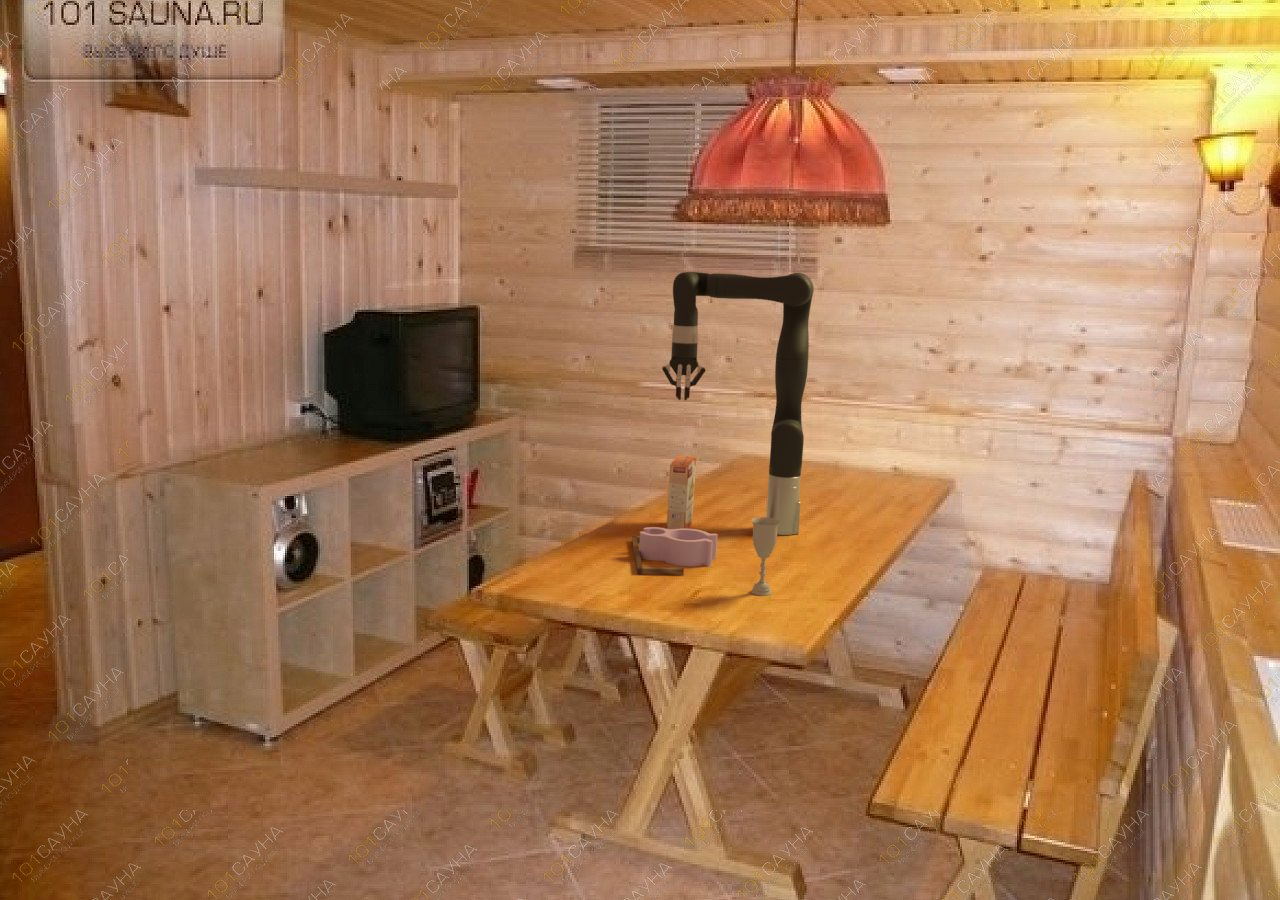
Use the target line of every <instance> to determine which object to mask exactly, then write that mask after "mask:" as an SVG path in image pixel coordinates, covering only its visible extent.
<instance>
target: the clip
mask: <svg viewBox="0 0 1280 900" xmlns="http://www.w3.org/2000/svg"><path fill="white" fill-rule="evenodd" d="M639 536H640V543H639V552H640V557H641V559H644V560H648V561H661V562H665V563H668V564H670V565H673V566H678V567H702V566H706V567H711V566H712V563H713V562H712V561H713V560H716V559H717V551H718V550H717V548H718V533H709V532H707V531H704V530H700V529H697V528H696V529H695V528H689V529H667V528H665V527H658V526H657V527H655V526H651V527H650V526H648V527H643V530H642V531H639Z"/></svg>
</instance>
